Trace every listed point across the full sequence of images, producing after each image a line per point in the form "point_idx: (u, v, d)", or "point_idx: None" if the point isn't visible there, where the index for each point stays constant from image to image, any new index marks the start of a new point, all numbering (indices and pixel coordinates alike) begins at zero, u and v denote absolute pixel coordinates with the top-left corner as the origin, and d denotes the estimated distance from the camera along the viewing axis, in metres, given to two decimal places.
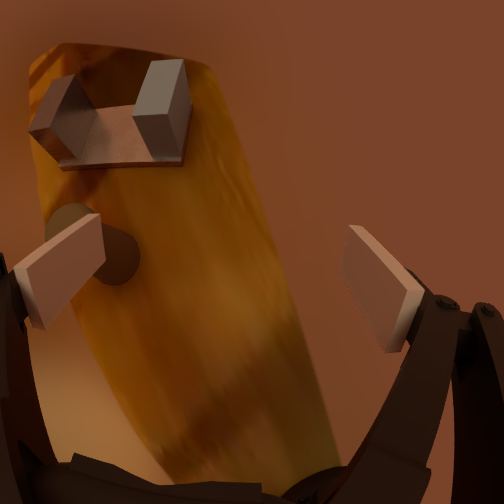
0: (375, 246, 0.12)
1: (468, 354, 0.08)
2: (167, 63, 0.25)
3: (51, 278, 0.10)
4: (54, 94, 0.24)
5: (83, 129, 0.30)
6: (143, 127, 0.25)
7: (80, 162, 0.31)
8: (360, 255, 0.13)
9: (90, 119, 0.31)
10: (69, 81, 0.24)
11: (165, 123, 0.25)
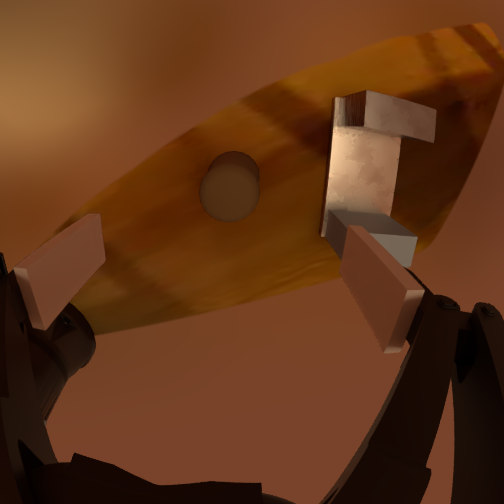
0: (375, 246, 0.12)
1: (468, 354, 0.08)
2: (408, 253, 0.28)
3: (51, 278, 0.10)
4: (412, 118, 0.22)
5: (373, 132, 0.29)
6: (343, 231, 0.29)
7: (336, 128, 0.30)
8: (360, 255, 0.13)
9: None
10: (425, 137, 0.23)
11: (340, 254, 0.29)
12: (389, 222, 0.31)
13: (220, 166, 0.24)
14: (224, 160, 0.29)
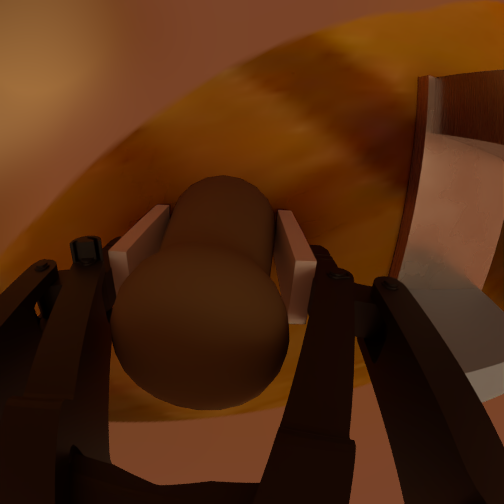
0: (291, 226, 0.13)
1: (377, 331, 0.09)
2: None
3: None
4: None
5: (491, 151, 0.12)
6: None
7: (430, 135, 0.13)
8: (280, 235, 0.14)
9: (502, 157, 0.13)
10: None
11: None
12: (493, 313, 0.14)
13: (159, 268, 0.07)
14: (195, 208, 0.12)
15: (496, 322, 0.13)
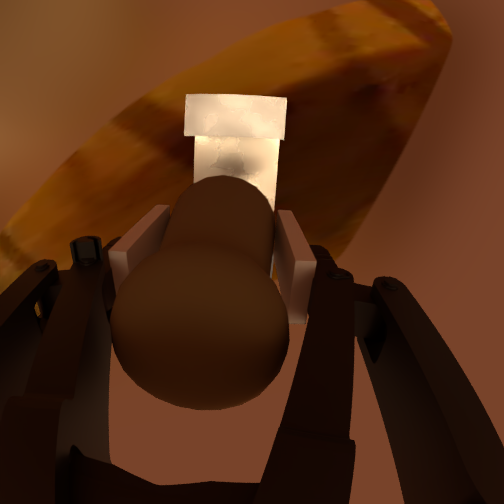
0: (291, 226, 0.13)
1: (376, 331, 0.09)
2: None
3: None
4: (248, 115, 0.21)
5: None
6: None
7: (198, 136, 0.29)
8: (280, 235, 0.14)
9: None
10: (270, 135, 0.22)
11: None
12: None
13: (158, 268, 0.07)
14: (195, 207, 0.12)
15: None
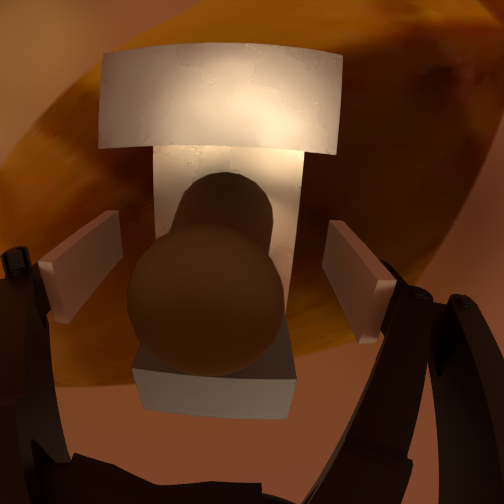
0: (352, 239, 0.12)
1: (445, 346, 0.08)
2: (278, 403, 0.14)
3: (74, 272, 0.10)
4: (249, 91, 0.08)
5: None
6: None
7: None
8: (339, 248, 0.13)
9: None
10: (303, 142, 0.09)
11: None
12: None
13: (173, 242, 0.08)
14: (200, 198, 0.13)
15: None
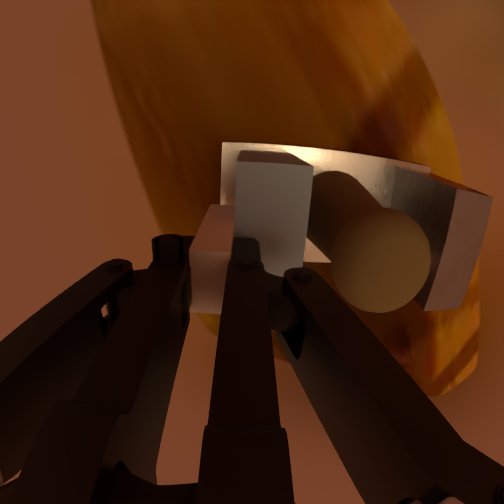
0: (226, 219, 0.14)
1: (295, 325, 0.09)
2: None
3: None
4: (457, 270, 0.15)
5: None
6: (293, 160, 0.15)
7: (394, 164, 0.20)
8: None
9: None
10: (432, 296, 0.16)
11: (247, 158, 0.14)
12: None
13: (429, 253, 0.13)
14: None
15: None
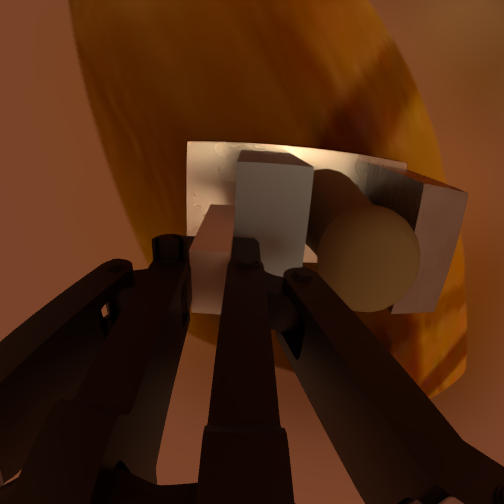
0: (225, 219, 0.14)
1: (295, 325, 0.09)
2: None
3: None
4: (428, 271, 0.15)
5: None
6: (294, 161, 0.15)
7: (366, 160, 0.20)
8: None
9: None
10: None
11: (248, 158, 0.14)
12: None
13: None
14: None
15: None
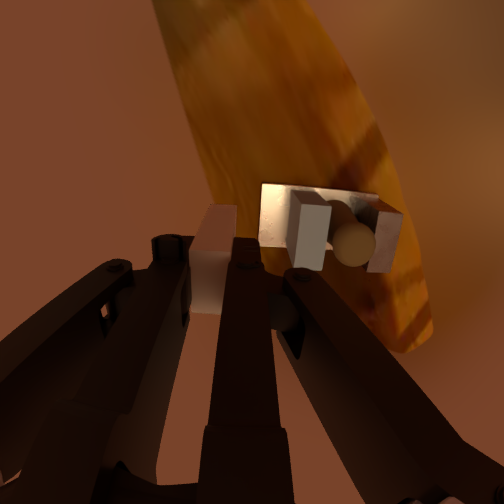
0: (226, 219, 0.14)
1: (295, 325, 0.09)
2: (307, 265, 0.35)
3: None
4: (383, 251, 0.34)
5: None
6: (322, 201, 0.34)
7: (355, 194, 0.39)
8: None
9: None
10: (370, 264, 0.35)
11: (303, 201, 0.33)
12: None
13: (375, 240, 0.32)
14: None
15: None
